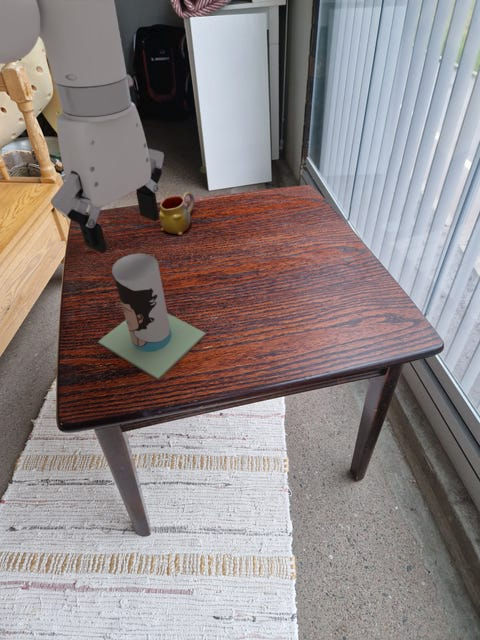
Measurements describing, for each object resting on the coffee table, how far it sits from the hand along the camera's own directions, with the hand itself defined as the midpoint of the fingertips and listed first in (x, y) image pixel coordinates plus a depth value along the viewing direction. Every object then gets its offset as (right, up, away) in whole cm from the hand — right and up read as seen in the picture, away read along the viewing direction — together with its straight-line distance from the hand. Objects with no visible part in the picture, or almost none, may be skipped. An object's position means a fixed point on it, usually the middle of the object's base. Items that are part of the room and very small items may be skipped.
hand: (125, 232), depth 58 cm
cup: (+1, -15, +15) cm, 21 cm away
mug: (+2, +11, +43) cm, 44 cm away
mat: (+1, -15, +15) cm, 22 cm away
